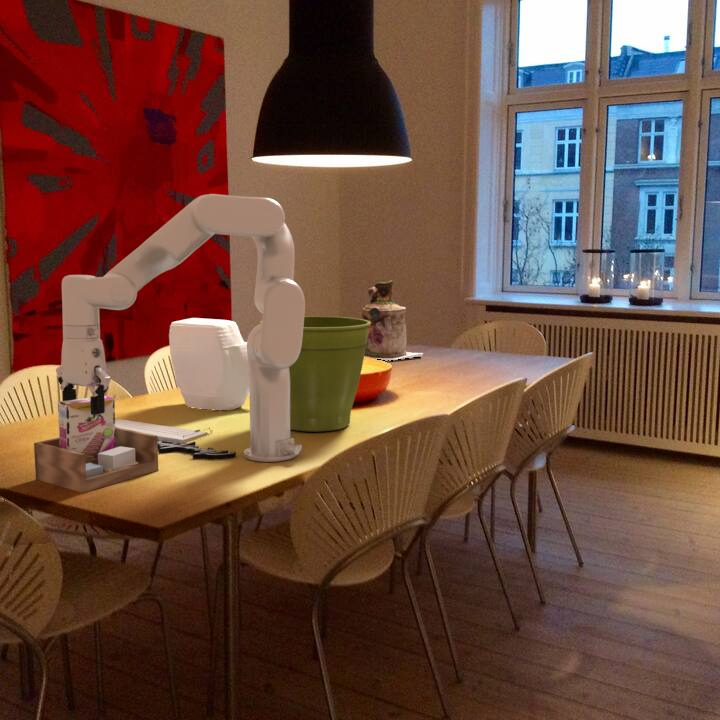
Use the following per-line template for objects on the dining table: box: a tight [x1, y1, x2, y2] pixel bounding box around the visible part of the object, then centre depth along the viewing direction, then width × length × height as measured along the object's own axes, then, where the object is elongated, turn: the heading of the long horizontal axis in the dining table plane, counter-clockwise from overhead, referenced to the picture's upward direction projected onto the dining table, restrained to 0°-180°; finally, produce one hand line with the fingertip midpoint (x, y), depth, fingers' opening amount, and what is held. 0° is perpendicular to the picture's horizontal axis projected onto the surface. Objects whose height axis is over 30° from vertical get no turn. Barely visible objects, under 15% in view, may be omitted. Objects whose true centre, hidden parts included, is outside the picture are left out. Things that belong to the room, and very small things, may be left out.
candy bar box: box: [57, 395, 116, 461], centre depth 188 cm, size 11×5×16 cm, turn 133°
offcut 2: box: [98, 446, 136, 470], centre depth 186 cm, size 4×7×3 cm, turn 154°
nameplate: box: [157, 439, 237, 461], centre depth 208 cm, size 27×2×10 cm
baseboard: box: [115, 418, 214, 443], centre depth 228 cm, size 31×3×12 cm
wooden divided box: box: [33, 427, 159, 494], centre depth 187 cm, size 16×20×8 cm
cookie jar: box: [360, 280, 424, 362], centre depth 356 cm, size 25×25×32 cm
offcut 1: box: [86, 463, 103, 478], centre depth 181 cm, size 4×4×4 cm
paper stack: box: [168, 317, 250, 411], centre depth 256 cm, size 21×27×26 cm
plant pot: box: [259, 315, 370, 433], centre depth 233 cm, size 30×30×29 cm
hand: (83, 410), depth 187 cm, fingers open, 9 cm apart
